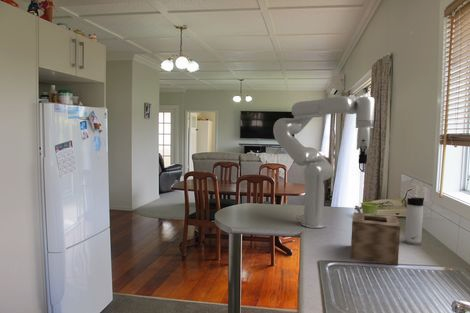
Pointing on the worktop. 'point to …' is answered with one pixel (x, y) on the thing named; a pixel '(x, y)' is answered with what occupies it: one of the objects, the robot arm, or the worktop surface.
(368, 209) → the plant pot
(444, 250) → the worktop surface
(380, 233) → the box
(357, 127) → the robot arm
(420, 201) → the travel mug
